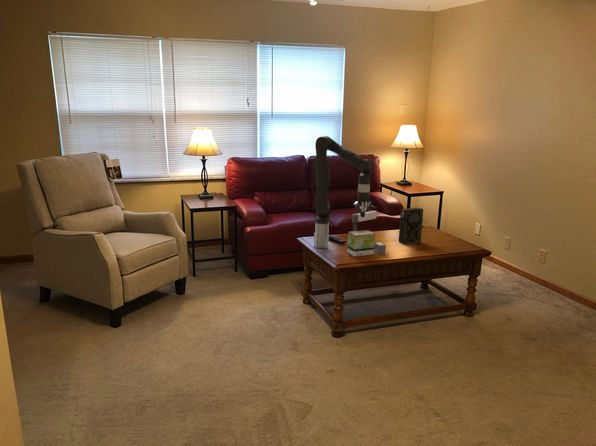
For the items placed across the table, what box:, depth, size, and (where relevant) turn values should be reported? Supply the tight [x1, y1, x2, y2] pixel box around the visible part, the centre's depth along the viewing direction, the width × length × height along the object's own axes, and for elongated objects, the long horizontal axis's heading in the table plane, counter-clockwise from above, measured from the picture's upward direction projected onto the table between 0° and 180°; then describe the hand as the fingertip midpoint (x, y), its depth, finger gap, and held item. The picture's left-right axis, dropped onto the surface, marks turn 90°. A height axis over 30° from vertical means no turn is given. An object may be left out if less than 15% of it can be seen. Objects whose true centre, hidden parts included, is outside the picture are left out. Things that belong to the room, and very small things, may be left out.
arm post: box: [352, 222, 358, 231], centre depth 315 cm, size 6×6×18 cm
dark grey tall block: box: [398, 207, 424, 245], centre depth 330 cm, size 16×9×25 cm, turn 113°
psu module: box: [374, 241, 387, 255], centre depth 309 cm, size 5×8×6 cm, turn 17°
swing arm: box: [351, 210, 377, 224], centre depth 317 cm, size 4×21×5 cm, turn 127°
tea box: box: [346, 229, 376, 258], centre depth 305 cm, size 15×10×15 cm, turn 114°
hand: (362, 217), depth 301 cm, fingers closed
